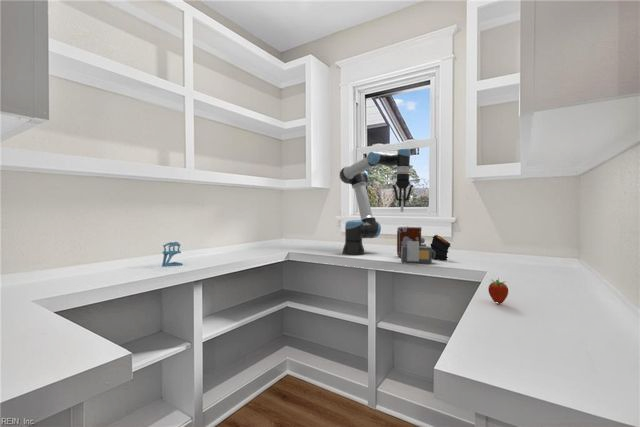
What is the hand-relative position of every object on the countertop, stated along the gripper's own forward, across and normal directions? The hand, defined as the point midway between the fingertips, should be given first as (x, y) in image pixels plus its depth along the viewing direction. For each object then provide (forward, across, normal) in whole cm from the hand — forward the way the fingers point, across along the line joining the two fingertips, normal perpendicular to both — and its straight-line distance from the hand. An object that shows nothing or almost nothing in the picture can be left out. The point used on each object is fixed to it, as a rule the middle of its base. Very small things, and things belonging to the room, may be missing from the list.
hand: (401, 211), depth 194 cm
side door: (+28, +5, -18) cm, 34 cm away
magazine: (+29, +24, +1) cm, 38 cm away
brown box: (+30, +9, +10) cm, 33 cm away
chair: (+31, -119, -55) cm, 135 cm away
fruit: (+28, +21, -96) cm, 102 cm away
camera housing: (+29, +9, -13) cm, 33 cm away
